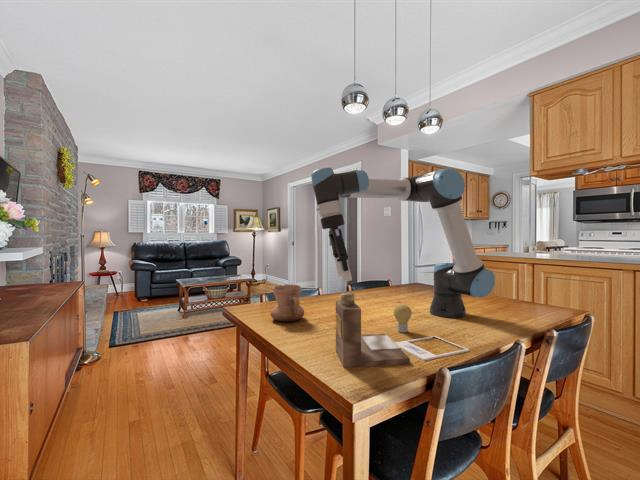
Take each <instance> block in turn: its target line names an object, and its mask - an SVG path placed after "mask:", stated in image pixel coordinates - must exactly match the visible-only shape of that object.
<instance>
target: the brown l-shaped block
mask: <svg viewBox="0 0 640 480" xmlns="http://www.w3.org/2000/svg"><path fill="white" fill-rule="evenodd" d="M335 352H336V353H335V354H336V355H337V357H338V359H339V361H340V364H341V366H342V368H343V369H345V368H347V369H348V368H361V367H365V368H366V367H381V366H394V365H410V364H411V358H410V357H409V356H408V355H407V354H406V353H405V351H404V350H402V349H401V348H400V347H399V346H398V345H397V344H396V342H395V341H394V340H393V339H392V338H391V337H390V336H389V335H387V334H385V333H372V334H369V333H368V334H362V308H361V307H359V305H358V304H356V302H355V293H352V292H342V293H340V299H335Z"/></svg>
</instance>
